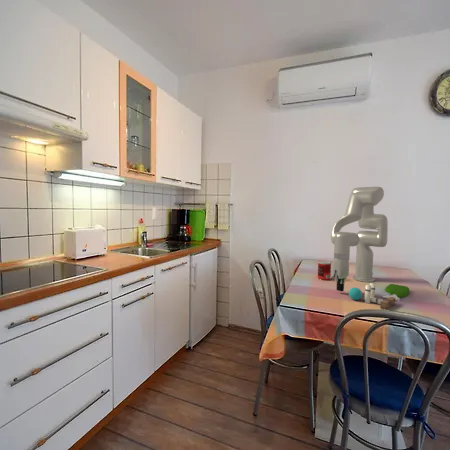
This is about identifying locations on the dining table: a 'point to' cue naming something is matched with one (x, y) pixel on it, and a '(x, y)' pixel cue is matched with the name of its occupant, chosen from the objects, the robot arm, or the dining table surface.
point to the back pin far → (372, 289)
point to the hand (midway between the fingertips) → (340, 290)
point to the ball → (355, 293)
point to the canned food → (324, 270)
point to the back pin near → (367, 293)
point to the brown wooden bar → (387, 303)
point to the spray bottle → (396, 291)
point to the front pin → (374, 300)
